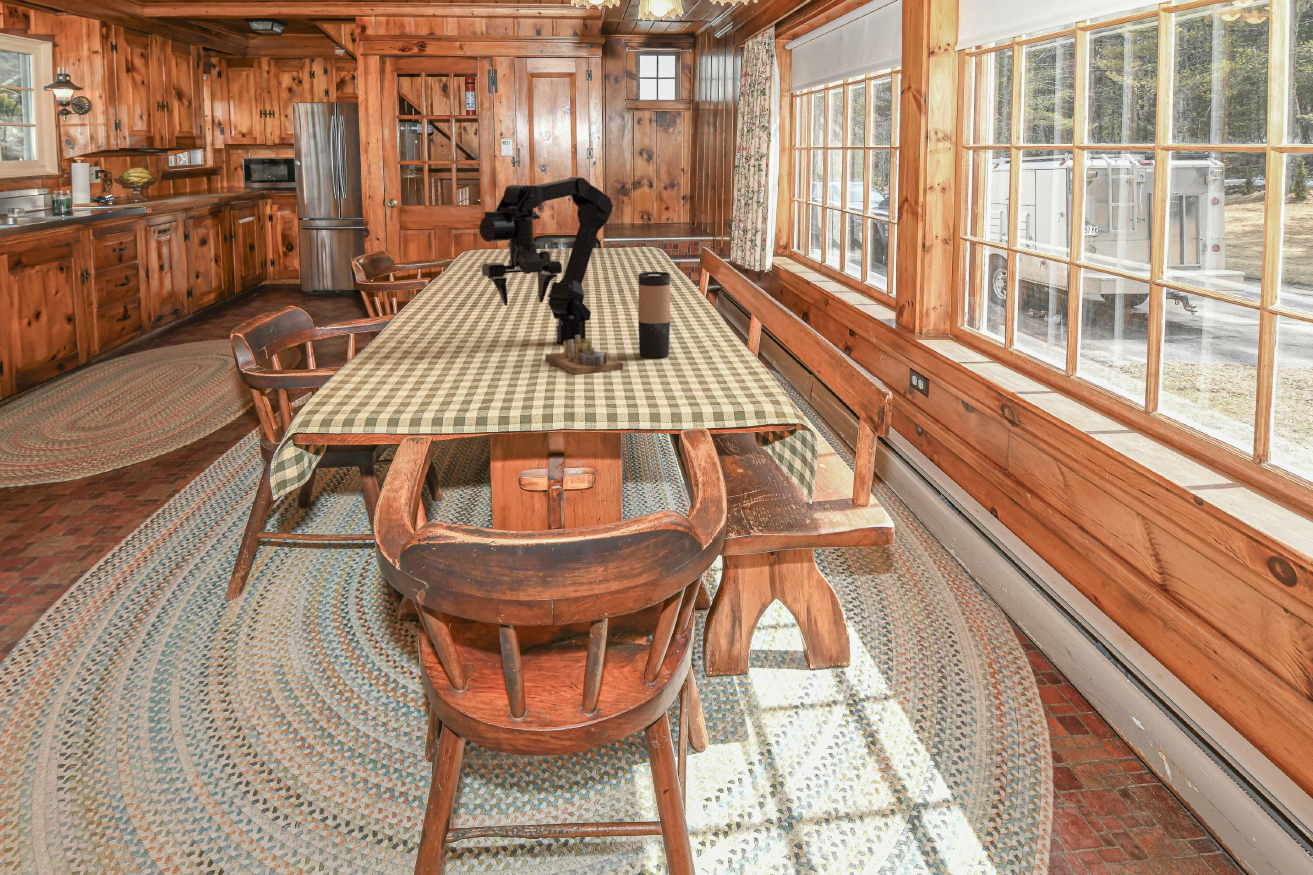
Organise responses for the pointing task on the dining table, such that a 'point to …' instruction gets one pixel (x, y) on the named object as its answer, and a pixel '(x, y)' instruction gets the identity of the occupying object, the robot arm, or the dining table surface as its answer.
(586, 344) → the brass gear
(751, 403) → the dining table surface
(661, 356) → the travel mug
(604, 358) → the gear board
